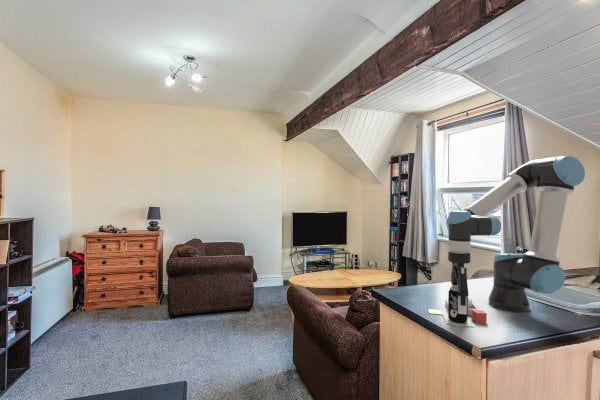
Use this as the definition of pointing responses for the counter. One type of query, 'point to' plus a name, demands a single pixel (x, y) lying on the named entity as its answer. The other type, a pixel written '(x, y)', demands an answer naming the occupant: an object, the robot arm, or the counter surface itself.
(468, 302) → the dome
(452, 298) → the beverage can
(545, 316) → the counter surface
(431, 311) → the track space
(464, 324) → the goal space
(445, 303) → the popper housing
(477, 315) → the red die
